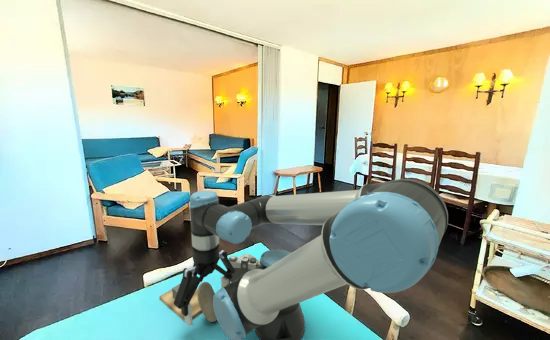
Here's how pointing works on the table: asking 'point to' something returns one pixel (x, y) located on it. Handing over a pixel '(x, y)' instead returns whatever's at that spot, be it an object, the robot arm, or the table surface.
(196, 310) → the board
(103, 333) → the table surface
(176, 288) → the eraser
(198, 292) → the stone
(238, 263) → the camera
